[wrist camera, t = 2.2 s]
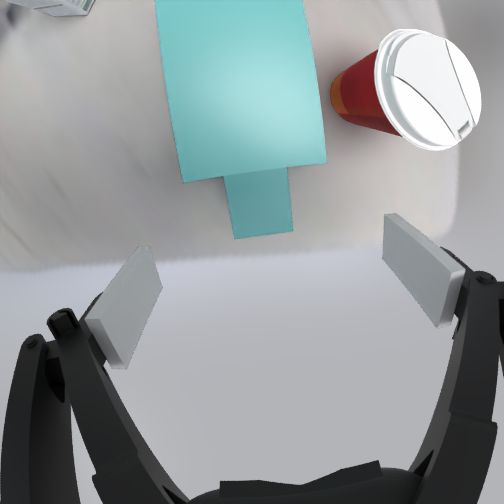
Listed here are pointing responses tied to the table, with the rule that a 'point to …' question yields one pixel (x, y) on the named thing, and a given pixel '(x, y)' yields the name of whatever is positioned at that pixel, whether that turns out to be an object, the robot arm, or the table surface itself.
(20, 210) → the table surface
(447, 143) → the coffee cup
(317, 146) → the snap lid
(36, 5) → the syrup box
